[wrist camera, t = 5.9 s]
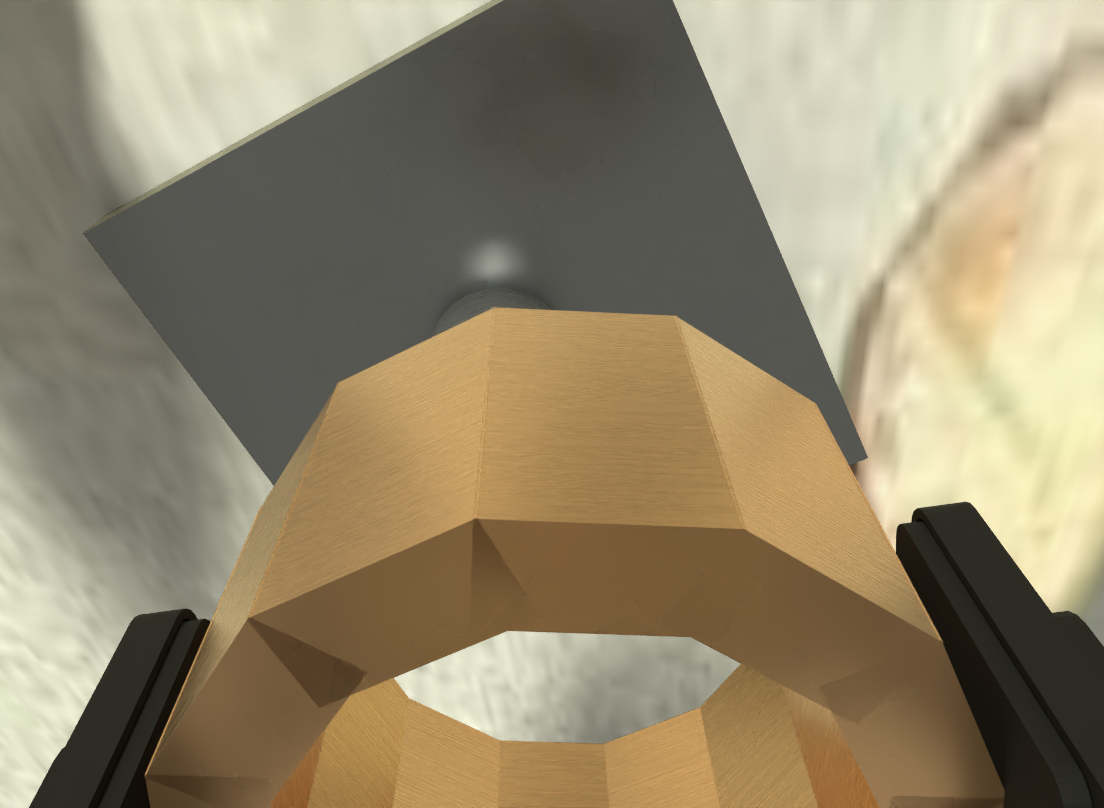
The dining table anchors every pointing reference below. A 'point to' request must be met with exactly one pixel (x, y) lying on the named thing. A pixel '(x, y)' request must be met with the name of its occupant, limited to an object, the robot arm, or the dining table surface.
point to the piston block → (465, 216)
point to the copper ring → (570, 589)
